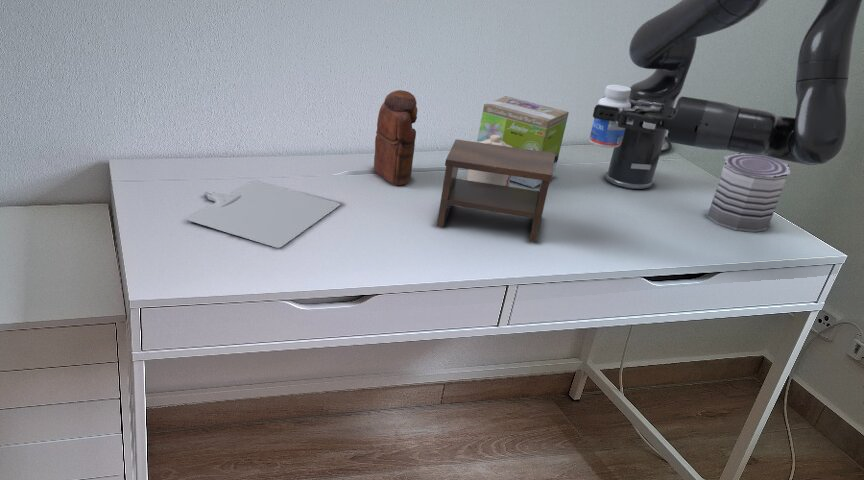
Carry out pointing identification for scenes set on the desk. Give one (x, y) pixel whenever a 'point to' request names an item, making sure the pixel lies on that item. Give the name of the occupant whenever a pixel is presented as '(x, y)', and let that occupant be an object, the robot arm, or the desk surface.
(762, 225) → the can
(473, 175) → the teacup with lid
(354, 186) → the desk surface
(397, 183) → the wooden figurine
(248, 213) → the grey clipboard
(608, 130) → the pill bottle
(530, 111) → the tea box
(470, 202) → the walnut stand
